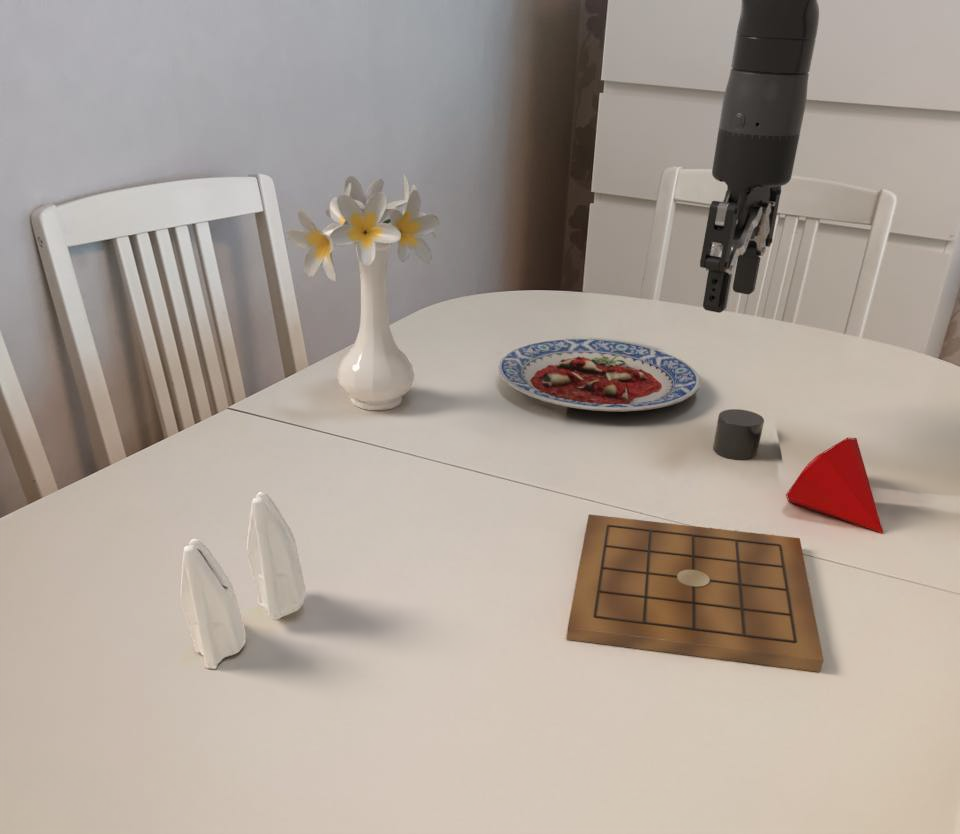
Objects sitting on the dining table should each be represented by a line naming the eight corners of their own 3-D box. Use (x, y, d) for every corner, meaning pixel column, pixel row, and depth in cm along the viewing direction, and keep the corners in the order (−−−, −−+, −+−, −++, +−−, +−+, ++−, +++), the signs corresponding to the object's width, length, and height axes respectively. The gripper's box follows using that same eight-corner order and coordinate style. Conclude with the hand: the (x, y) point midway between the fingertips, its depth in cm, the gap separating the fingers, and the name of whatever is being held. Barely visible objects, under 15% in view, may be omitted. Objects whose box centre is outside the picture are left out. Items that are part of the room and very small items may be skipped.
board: (797, 549, 92) (800, 536, 91) (820, 672, 76) (824, 658, 75) (587, 525, 94) (588, 512, 94) (566, 639, 78) (567, 626, 77)
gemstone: (924, 505, 97) (855, 436, 100) (916, 497, 90) (841, 423, 93) (854, 566, 101) (788, 498, 104) (841, 563, 93) (770, 489, 96)
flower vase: (285, 416, 114) (266, 185, 100) (375, 371, 127) (369, 162, 113) (377, 441, 109) (370, 202, 95) (460, 392, 122) (465, 176, 108)
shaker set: (289, 588, 83) (278, 469, 77) (324, 605, 81) (316, 485, 75) (176, 651, 75) (154, 524, 69) (212, 671, 73) (193, 543, 67)
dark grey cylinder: (755, 444, 112) (762, 411, 110) (758, 462, 108) (765, 428, 106) (712, 439, 113) (718, 407, 110) (713, 457, 109) (719, 423, 106)
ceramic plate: (648, 444, 111) (652, 419, 109) (459, 394, 122) (460, 371, 120) (725, 380, 129) (730, 358, 128) (555, 342, 140) (557, 321, 138)
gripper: (774, 138, 85) (739, 325, 94) (821, 123, 95) (785, 293, 104) (693, 129, 88) (668, 310, 97) (747, 115, 98) (719, 280, 107)
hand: (728, 301), depth 101 cm, fingers open, 8 cm apart
